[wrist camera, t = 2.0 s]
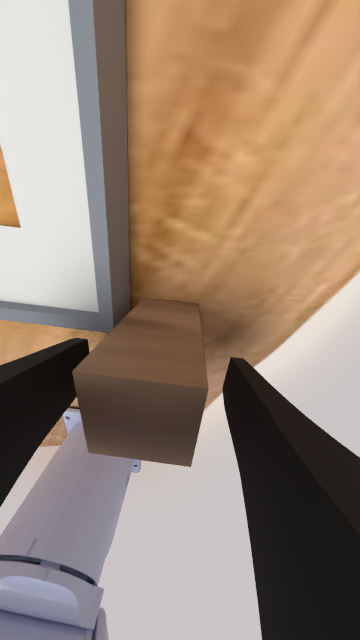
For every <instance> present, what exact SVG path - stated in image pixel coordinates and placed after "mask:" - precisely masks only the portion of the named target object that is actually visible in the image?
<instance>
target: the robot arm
mask: <svg viewBox="0 0 360 640" xmlns="http://www.w3.org/2000/svg"><path fill="white" fill-rule="evenodd" d="M89 354H90V353H89V346H88V339H81V338H74V339H70V340H67V341H64V342H61V343H59V344H56V345H53V346H51V347H48V348H46V349H43V350H40V351H38V352H35V353H33V354H30V355H28V356H25V357H22V358H20V359H17V360H14V361H11V362H9V363H6V364H3V365H0V507H1V505H2V503H3V502H4V500H5V499H6V497H7V495H8V494H9V492H10V490H11V489H12V487H13V485H14V484H15V482H16V480H17V479H18V477H19V476H20V474H21V473H22V471H23V470H24V468H25V466H26V465H27V463H28V462H29V460H30V459H31V457H32V456H33V454H34V452H35V451H36V450H37V448H38V447H39V445H40V444H41V443H42V441H43V440H44V439H45V437H46V436H47V434H48V433H49V432H50V431H51V429H52V428H53V427H54V425H55V424H56V423H57V421H58V420H59V419H60V418H61V416H62V415H63V418H64V422H65V426H66V430H67V433H68V435H67V437H66V438H65V440H64V441H63V443H62V444H61V446H60V447H59V449H58V450H57V452H56V453H55V455H54V456H53V458H52V459H51V461H50V462H49V464H48V465H47V467H46V468H45V470H44V471H43V473H42V474H41V476H40V477H39V479H38V480H37V482H36V483H35V485H34V486H33V488H32V489H31V491H30V492H29V494H28V495H27V497H26V498H25V500H24V501H23V503H22V504H21V506H20V507H19V509H18V510H17V512H16V513H15V515H14V516H13V518H12V519H11V521H10V522H9V524H8V525H7V527H6V528H5V530H4V531H3V533H2V534H1V536H0V640H108V632H107V625H106V614H105V610H104V609H103V608H100V603H101V600H102V595H103V592H104V589H103V588H100V587H97V586H98V583H99V579H100V575H101V572H102V568H103V565H104V561H105V558H106V556H107V554H108V552H109V549H110V547H111V544H112V540H113V537H114V533H115V529H116V526H117V522H118V518H119V514H120V511H121V507H122V503H123V500H124V496H125V492H126V489H127V485H128V481H129V477H130V474H131V472H135V473H137V472H139V471H140V465H141V462H140V461H141V460H137V459H129V458H122V457H114V456H107V455H100V454H92V453H88V450H87V445H86V439H85V434H84V429H83V424H82V419H81V414H80V409H72V408H68V407H69V406H70V405H71V403H72V402H73V401H74V399H75V398H76V397H77V394H76V389H75V384H74V379H73V374H72V371H73V370H74V369H75V368H76V367H77V366H78V365H79V364H80V363H81V362H82V361H83V360H84V359H85V358H86V357H87V356H88V355H89ZM222 389H223V397H224V406H225V411H226V416H227V420H228V424H229V429H230V433H231V437H232V441H233V445H234V449H235V453H236V458H237V462H238V467H239V471H240V477H241V482H242V489H243V495H244V502H245V508H246V515H247V521H248V529H249V536H250V542H251V550H252V558H253V566H254V574H255V582H256V590H257V598H258V606H259V615H260V624H261V632H262V640H360V457H358V456H357V455H355V454H354V453H353V452H351V451H350V450H349V449H347V448H346V447H345V446H343V445H342V444H341V443H339V442H338V441H337V440H335V439H334V438H333V437H331V436H330V435H329V434H328V433H326V432H325V431H324V430H323V429H321V428H320V427H319V426H317V425H316V424H315V423H314V422H312V421H311V420H310V419H309V418H307V417H306V416H305V415H304V414H303V413H302V412H300V411H299V410H298V409H297V408H296V407H295V406H293V405H292V404H291V403H290V402H289V401H288V400H287V399H286V398H285V397H283V396H282V395H281V394H280V393H279V392H278V391H277V390H276V389H275V388H274V387H273V386H272V385H270V384H269V383H268V382H267V381H266V380H265V379H264V378H263V377H262V376H261V375H260V374H259V373H258V372H257V371H256V370H255V369H254V368H253V367H252V366H251V365H250V364H249V363H248V362H247V361H246V360H244V359H243V358H235V357H231V359H230V362H229V366H228V370H227V373H226V377H225V381H224V384H223V388H222Z"/></svg>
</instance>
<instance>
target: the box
mask: <svg viewBox="0 0 360 640" xmlns="http://www.w3.org/2000/svg"><path fill="white" fill-rule="evenodd" d="M0 144H1V148H2V152H3V156H4V160H5V165H6V169H7V173H8V177H9V181H10V185H11V189H12V193H13V197H14V201H15V206H16V210H17V214H18V218H19V222H20V226H21V228H17V227H8V226H0V320H8V321H16V322H25V323H33V324H41V325H49V326H58V327H66V328H74V329H82V330H91V331H99V332H107V333H110V332H111V331H112V330H113V329H114V328H115V327H116V326H117V325H118V324H119V323H120V322H121V321H122V320H123V318H124V317H125V316H126V315H127V314H128V313H129V312H130V259H129V201H128V143H127V86H126V28H125V0H0Z"/></svg>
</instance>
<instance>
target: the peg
mask: <svg viewBox="0 0 360 640" xmlns="http://www.w3.org/2000/svg"><path fill="white" fill-rule="evenodd" d="M72 374H73V379H74V384H75V389H76V394H77V399H78V404H79V409H80V414H81V419H82V424H83V429H84V434H85V439H86V445H87V450H88V453H92V454H100V455H107V456H114V457H122V458H129V459H137V460H145V461H152V462H159V463H166V464H174V465H181V466H189V467H191V463H192V459H193V455H194V450H195V446H196V442H197V437H198V433H199V428H200V423H201V419H202V415H203V411H204V406H205V402H206V397H207V393H208V381H207V372H206V364H205V356H204V347H203V339H202V331H201V322H200V314H199V306H198V304H195V303H186V302H178V301H169V300H161V299H152V298H143V299H142V300H141V301H140V302H139V303H138V304H137V305H136V306H135V307H134V308H133V309H132V310H131V311H130V312H129V313H128V314H127V315H126V316H125V317H124V318H123V320H122V321H121V322H120V323H119V324H118V325H117V326H116V327H115V328H114V329H113V330H112V331H111V332H110V333H109V334H108V335H107V336H106V337H105V338H104V339H103V340H102V341H101V342H100V343H99V344H98V345H97V346H96V347H95V348H94V349H93V350H92V351H91V353H90V354H89V355H88V356H87V357H86V358H85V359H84V360H83V361H82V362H81V363H80V364H79V365H78V366H77V367H76V368H75V369H74V370H73V371H72Z"/></svg>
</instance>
